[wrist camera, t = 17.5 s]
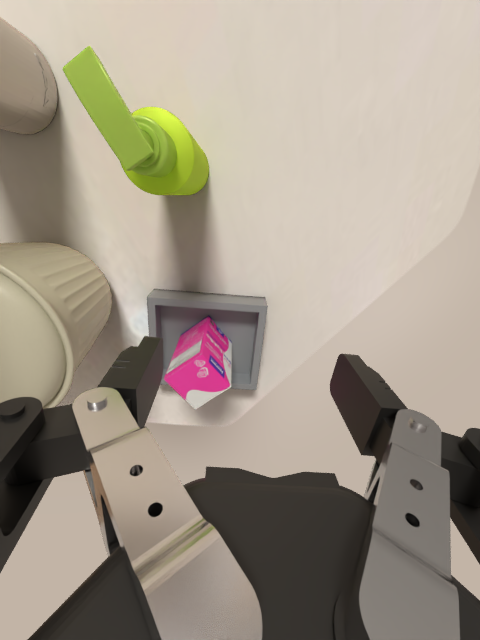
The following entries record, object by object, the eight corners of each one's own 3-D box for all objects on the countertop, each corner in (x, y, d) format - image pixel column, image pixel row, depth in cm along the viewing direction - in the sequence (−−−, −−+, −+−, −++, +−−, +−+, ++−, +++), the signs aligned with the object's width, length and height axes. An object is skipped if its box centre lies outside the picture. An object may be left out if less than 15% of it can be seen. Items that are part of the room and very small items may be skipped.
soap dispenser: (186, 119, 31) (116, 11, 13) (218, 178, 34) (197, 159, 15) (144, 148, 32) (26, 88, 14) (178, 204, 35) (115, 214, 17)
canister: (113, 215, 35) (-33, 238, 16) (146, 339, 43) (74, 456, 23) (-24, 229, 36) (-325, 269, 17) (33, 349, 43) (-129, 472, 24)
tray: (157, 370, 45) (151, 383, 42) (154, 288, 39) (146, 297, 36) (254, 376, 46) (256, 390, 43) (265, 297, 40) (267, 306, 37)
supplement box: (233, 341, 42) (233, 389, 32) (203, 360, 43) (193, 412, 33) (209, 313, 40) (200, 354, 30) (179, 334, 42) (160, 381, 31)
